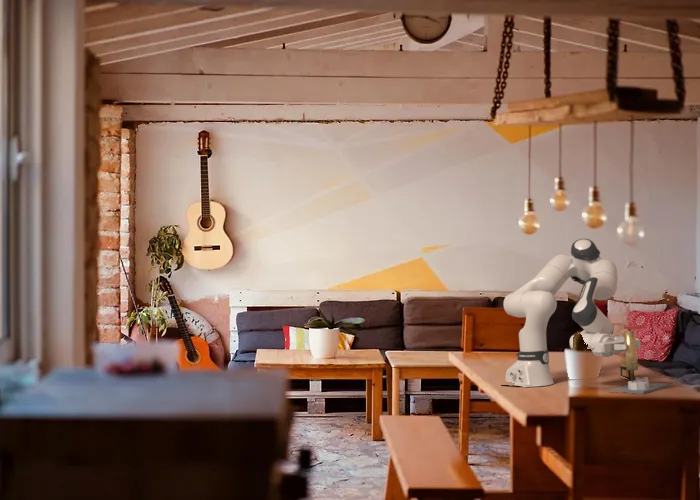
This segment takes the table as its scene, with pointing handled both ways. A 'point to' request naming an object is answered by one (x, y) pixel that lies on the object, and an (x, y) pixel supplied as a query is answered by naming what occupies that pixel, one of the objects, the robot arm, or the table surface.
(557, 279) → the robot arm
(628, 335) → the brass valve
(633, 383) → the coupling board
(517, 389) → the table surface
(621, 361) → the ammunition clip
